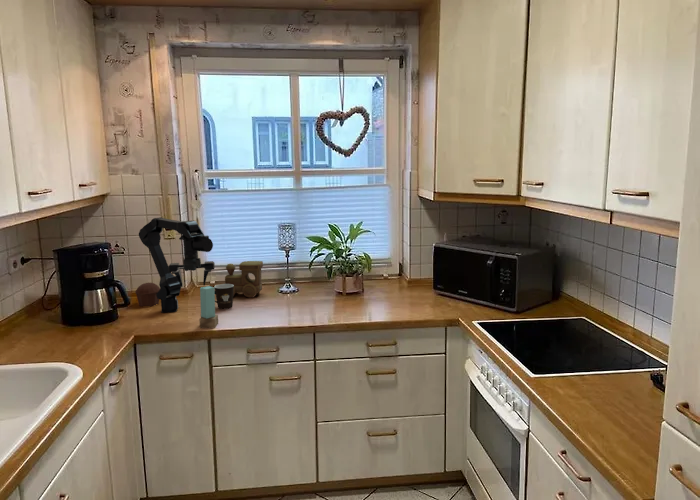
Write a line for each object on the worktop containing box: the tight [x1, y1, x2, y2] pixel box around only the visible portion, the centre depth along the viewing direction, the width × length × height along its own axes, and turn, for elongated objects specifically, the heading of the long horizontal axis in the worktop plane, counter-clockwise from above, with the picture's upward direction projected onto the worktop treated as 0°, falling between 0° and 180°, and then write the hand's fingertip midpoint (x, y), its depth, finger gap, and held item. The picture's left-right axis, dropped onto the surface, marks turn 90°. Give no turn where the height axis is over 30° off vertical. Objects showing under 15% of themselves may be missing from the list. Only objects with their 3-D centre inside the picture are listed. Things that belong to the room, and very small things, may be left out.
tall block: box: [199, 285, 216, 319], centre depth 215 cm, size 4×4×12 cm
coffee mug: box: [214, 283, 234, 310], centre depth 242 cm, size 12×9×10 cm
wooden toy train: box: [224, 260, 264, 299], centre depth 263 cm, size 20×11×17 cm, turn 87°
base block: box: [198, 314, 219, 329], centre depth 216 cm, size 6×6×4 cm
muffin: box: [134, 282, 160, 307], centre depth 249 cm, size 12×11×10 cm
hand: (193, 286), depth 229 cm, fingers open, 9 cm apart
